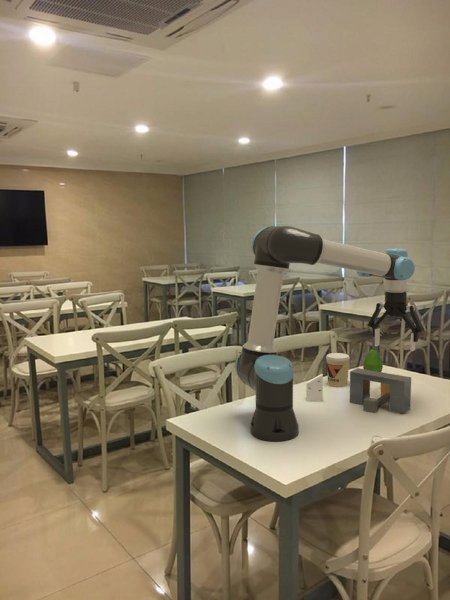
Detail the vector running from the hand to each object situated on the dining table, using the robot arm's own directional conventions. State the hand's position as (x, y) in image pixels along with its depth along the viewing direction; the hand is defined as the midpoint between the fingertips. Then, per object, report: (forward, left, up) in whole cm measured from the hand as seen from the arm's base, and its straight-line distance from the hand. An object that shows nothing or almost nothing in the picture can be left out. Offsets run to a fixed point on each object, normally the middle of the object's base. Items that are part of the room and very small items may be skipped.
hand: (394, 348), depth 186 cm
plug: (-9, 0, -19) cm, 21 cm away
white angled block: (-21, +22, -19) cm, 35 cm away
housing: (-13, 0, -19) cm, 22 cm away
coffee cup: (+1, +24, -19) cm, 31 cm away
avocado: (+19, +17, -19) cm, 32 cm away
